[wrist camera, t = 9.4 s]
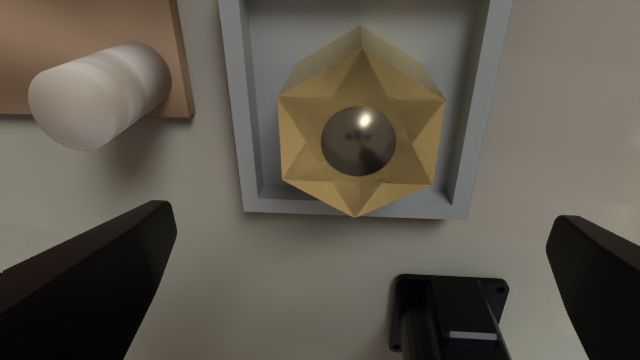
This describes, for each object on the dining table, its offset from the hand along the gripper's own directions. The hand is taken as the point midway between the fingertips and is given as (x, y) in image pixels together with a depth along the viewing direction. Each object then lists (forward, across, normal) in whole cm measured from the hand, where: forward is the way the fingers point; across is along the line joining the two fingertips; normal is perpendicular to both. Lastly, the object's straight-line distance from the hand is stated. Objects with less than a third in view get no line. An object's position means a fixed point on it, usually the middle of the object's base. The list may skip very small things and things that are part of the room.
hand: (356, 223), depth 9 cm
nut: (+10, 0, 0) cm, 10 cm away
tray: (+11, 0, 0) cm, 11 cm away
